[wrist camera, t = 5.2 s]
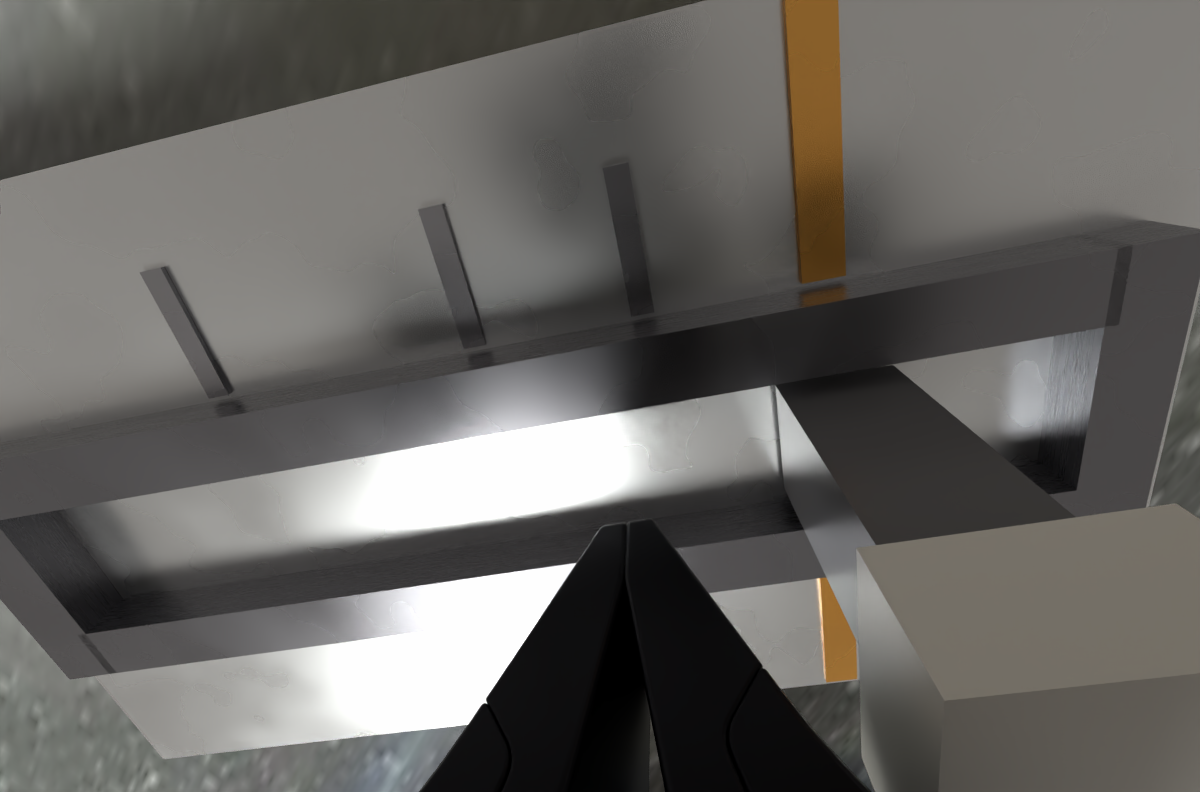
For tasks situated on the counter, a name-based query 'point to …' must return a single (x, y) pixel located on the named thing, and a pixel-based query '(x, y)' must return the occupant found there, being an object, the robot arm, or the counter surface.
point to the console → (569, 338)
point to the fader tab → (993, 603)
